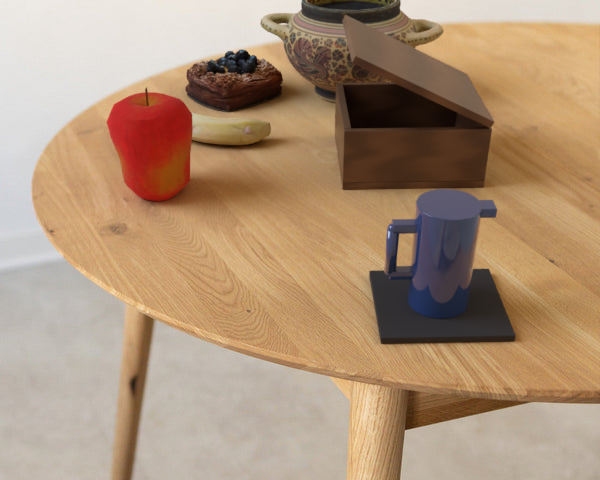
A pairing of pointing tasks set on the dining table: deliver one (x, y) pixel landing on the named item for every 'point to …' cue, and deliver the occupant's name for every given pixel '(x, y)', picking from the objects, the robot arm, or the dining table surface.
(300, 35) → the ceramic bowl
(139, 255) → the dining table surface
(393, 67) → the chest lid
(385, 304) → the trivet
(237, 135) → the fruit
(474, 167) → the chest
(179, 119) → the apple
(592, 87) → the dining table surface
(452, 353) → the dining table surface
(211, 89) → the pastry
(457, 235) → the jug
